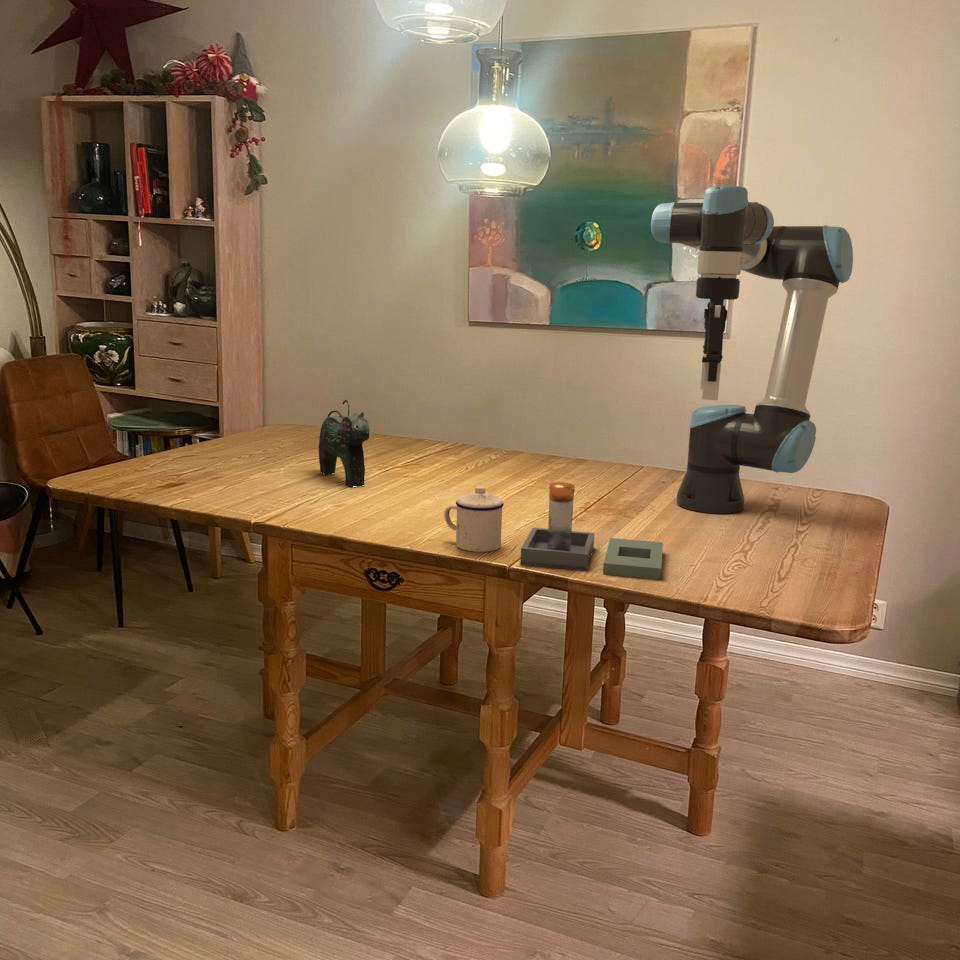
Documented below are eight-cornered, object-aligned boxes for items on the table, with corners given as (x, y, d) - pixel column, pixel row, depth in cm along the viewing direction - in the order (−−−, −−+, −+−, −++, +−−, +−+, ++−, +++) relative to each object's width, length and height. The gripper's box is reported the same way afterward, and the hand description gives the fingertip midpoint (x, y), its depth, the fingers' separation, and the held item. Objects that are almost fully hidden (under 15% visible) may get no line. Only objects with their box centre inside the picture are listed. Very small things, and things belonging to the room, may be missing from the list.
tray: (532, 542, 182) (532, 527, 181) (593, 547, 180) (594, 532, 179) (520, 564, 169) (520, 548, 168) (586, 570, 166) (587, 554, 166)
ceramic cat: (372, 487, 221) (372, 404, 217) (347, 490, 218) (347, 405, 213) (334, 470, 237) (334, 392, 233) (311, 473, 234) (310, 394, 229)
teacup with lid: (509, 543, 181) (512, 485, 178) (488, 556, 173) (490, 495, 170) (455, 534, 186) (457, 477, 183) (432, 545, 178) (434, 486, 175)
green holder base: (609, 547, 180) (610, 537, 179) (662, 552, 178) (663, 542, 178) (602, 573, 165) (603, 563, 164) (660, 579, 163) (661, 568, 162)
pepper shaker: (547, 548, 177) (551, 481, 174) (572, 550, 176) (575, 483, 173) (544, 555, 172) (548, 486, 169) (569, 557, 171) (573, 488, 168)
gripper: (745, 278, 154) (733, 405, 159) (736, 276, 178) (726, 386, 183) (698, 276, 155) (688, 402, 160) (696, 274, 179) (687, 384, 184)
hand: (708, 394), depth 172 cm, fingers open, 13 cm apart
